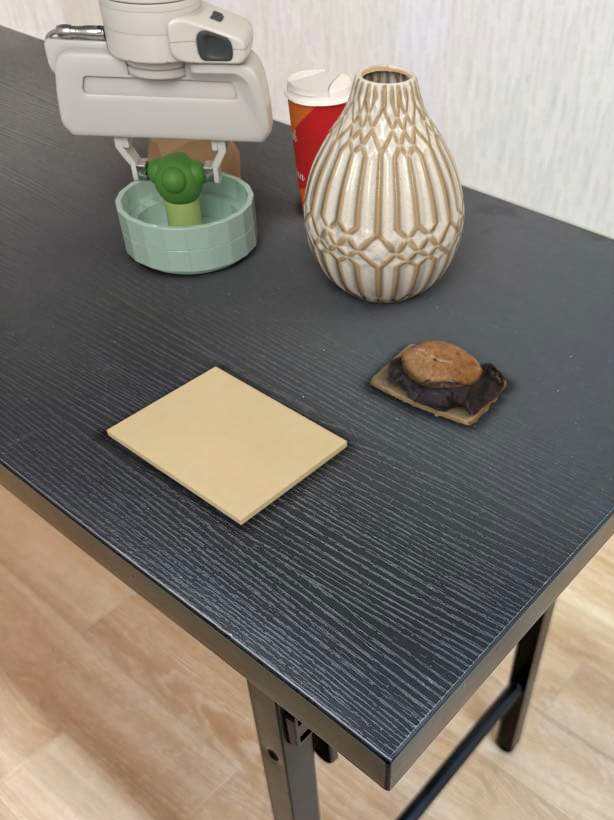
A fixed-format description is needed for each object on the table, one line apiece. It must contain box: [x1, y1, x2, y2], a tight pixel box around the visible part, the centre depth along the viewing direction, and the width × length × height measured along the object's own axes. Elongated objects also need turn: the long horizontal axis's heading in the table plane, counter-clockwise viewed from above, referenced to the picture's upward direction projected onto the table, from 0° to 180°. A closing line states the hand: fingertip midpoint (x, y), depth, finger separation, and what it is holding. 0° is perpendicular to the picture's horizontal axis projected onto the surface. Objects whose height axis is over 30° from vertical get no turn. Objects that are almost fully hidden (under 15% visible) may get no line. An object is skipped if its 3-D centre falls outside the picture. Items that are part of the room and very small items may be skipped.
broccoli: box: [147, 152, 206, 227], centre depth 85 cm, size 6×6×8 cm
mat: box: [106, 366, 348, 526], centre depth 67 cm, size 16×12×1 cm
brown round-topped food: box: [369, 339, 508, 427], centre depth 72 cm, size 11×8×4 cm
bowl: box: [114, 172, 259, 275], centre depth 87 cm, size 14×14×6 cm
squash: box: [147, 138, 242, 180], centre depth 98 cm, size 11×20×9 cm, turn 25°
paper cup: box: [283, 68, 353, 211], centre depth 91 cm, size 8×8×14 cm
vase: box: [302, 64, 466, 304], centre depth 78 cm, size 16×16×20 cm
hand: (179, 180), depth 84 cm, fingers closed on broccoli, 6 cm apart
